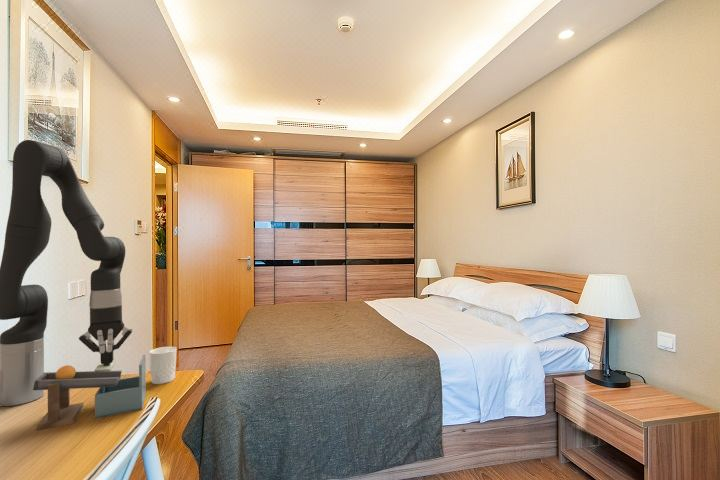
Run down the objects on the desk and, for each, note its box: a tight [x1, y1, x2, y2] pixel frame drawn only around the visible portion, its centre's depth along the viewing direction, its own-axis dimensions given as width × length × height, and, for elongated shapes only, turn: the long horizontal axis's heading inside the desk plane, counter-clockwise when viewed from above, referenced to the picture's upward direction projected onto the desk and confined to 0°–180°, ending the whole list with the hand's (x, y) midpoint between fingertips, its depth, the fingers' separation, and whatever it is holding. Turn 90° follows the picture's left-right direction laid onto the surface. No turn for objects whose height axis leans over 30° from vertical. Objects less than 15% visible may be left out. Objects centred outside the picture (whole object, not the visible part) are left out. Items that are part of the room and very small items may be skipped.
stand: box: [36, 383, 85, 431], centre depth 89 cm, size 7×10×10 cm
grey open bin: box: [94, 354, 147, 419], centre depth 95 cm, size 10×10×12 cm
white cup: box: [148, 345, 178, 385], centre depth 113 cm, size 8×8×10 cm
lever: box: [33, 361, 123, 391], centre depth 94 cm, size 17×14×3 cm
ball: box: [55, 365, 77, 379], centre depth 89 cm, size 4×4×4 cm
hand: (107, 364), depth 100 cm, fingers closed
